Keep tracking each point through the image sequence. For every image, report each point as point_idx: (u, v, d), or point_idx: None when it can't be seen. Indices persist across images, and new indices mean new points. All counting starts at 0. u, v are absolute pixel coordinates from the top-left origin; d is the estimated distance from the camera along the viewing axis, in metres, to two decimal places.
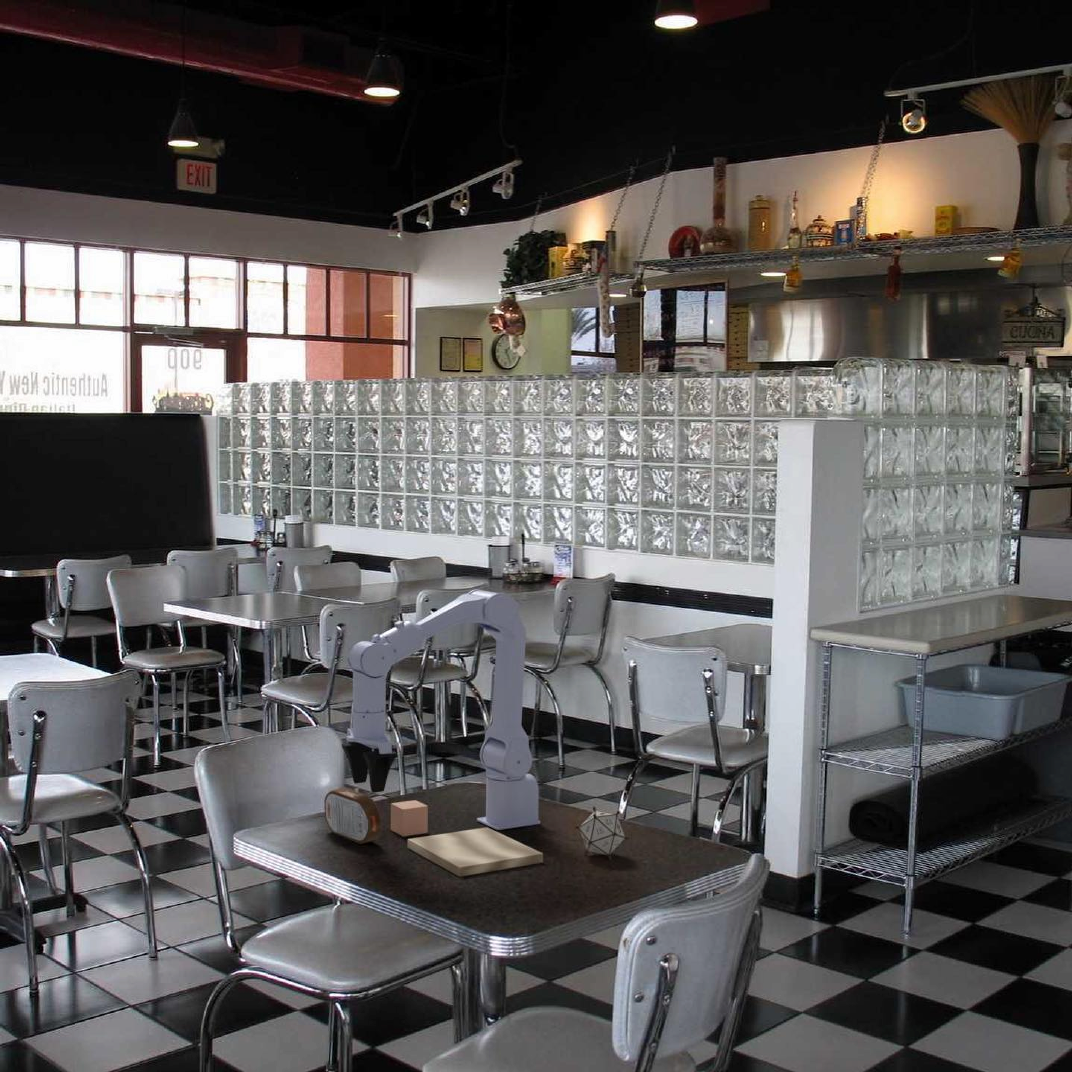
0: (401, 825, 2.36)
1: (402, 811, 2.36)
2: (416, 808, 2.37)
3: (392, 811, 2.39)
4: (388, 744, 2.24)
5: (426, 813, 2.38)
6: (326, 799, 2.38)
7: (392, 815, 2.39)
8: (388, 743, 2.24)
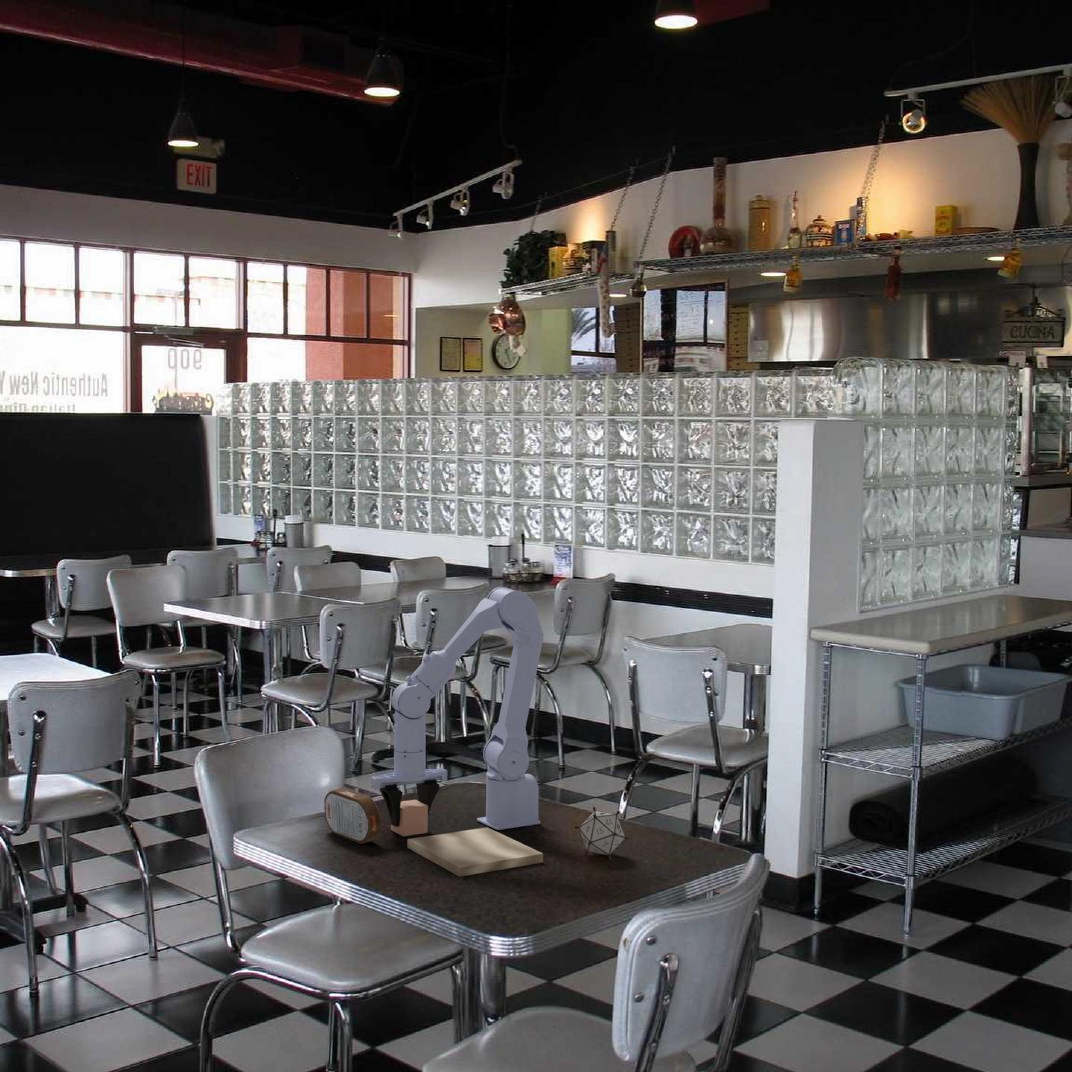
0: (401, 824, 2.36)
1: (402, 810, 2.36)
2: (416, 807, 2.37)
3: None
4: (374, 780, 2.35)
5: (426, 812, 2.38)
6: (326, 799, 2.38)
7: None
8: (374, 779, 2.35)
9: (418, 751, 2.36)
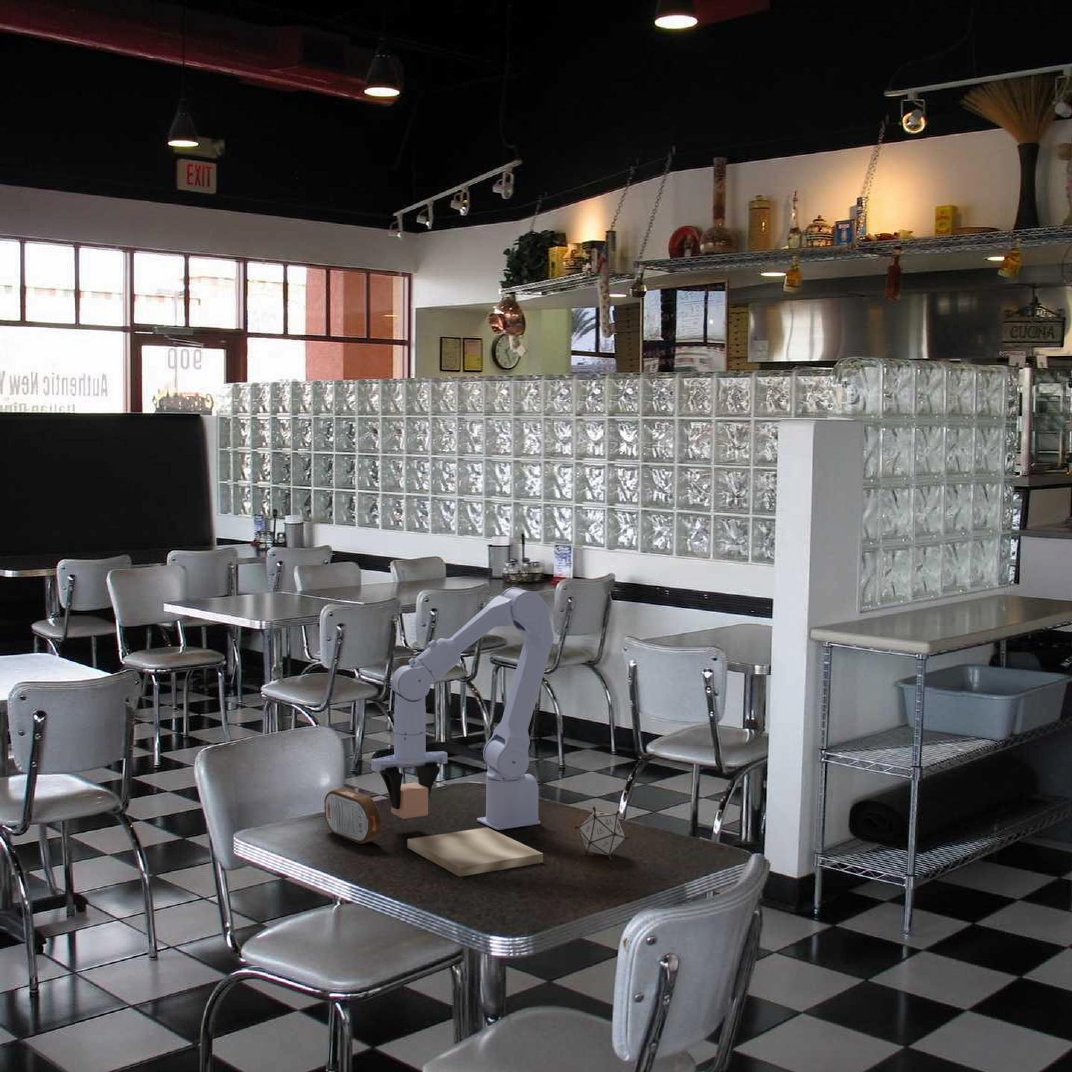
0: (401, 807, 2.36)
1: (403, 793, 2.35)
2: (416, 790, 2.37)
3: None
4: (374, 762, 2.34)
5: (426, 795, 2.38)
6: (326, 799, 2.38)
7: None
8: (374, 761, 2.34)
9: (418, 733, 2.36)
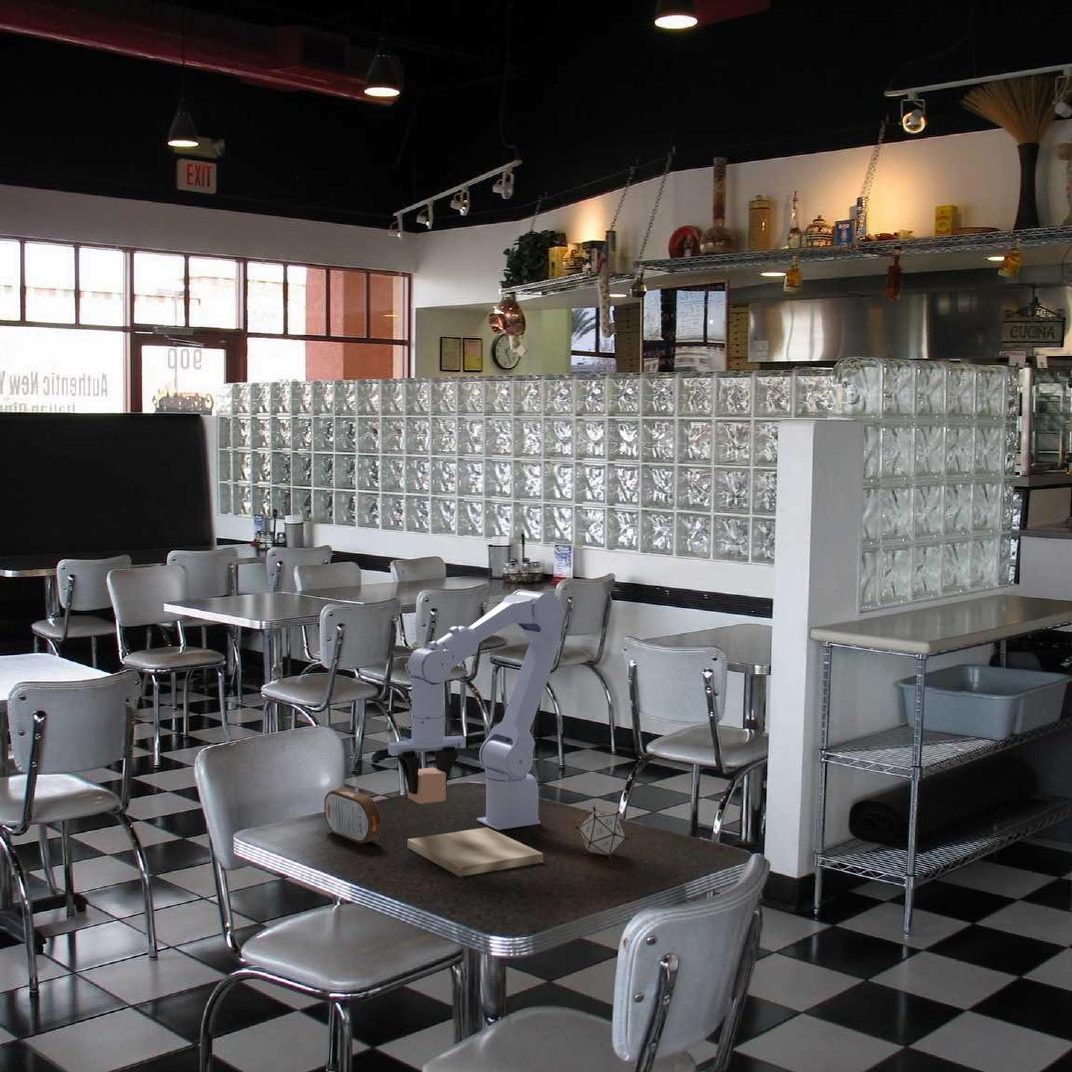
0: (418, 792, 2.32)
1: (420, 778, 2.31)
2: (434, 775, 2.33)
3: None
4: (391, 746, 2.30)
5: (444, 780, 2.34)
6: (326, 799, 2.38)
7: None
8: (391, 745, 2.30)
9: (436, 717, 2.32)
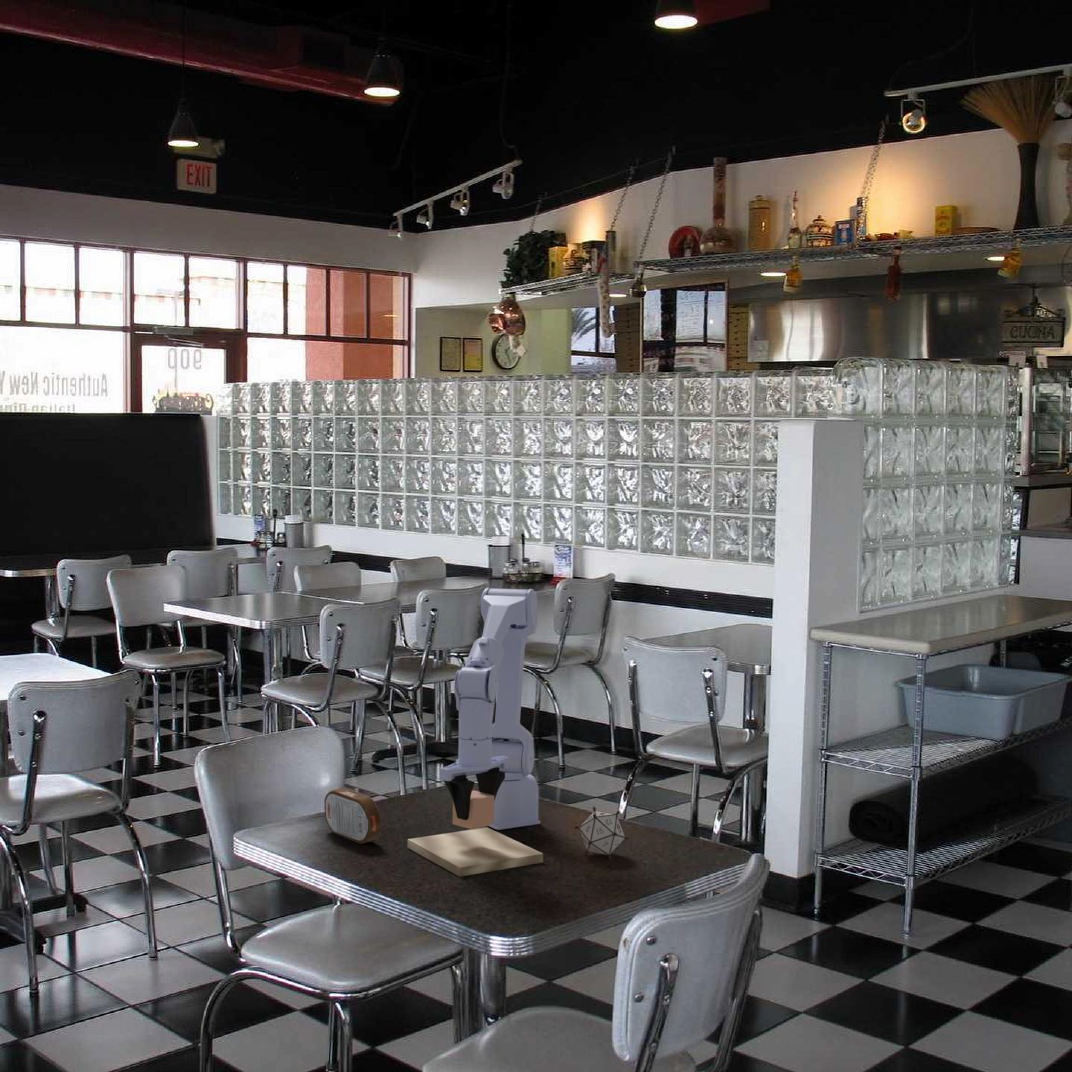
0: (470, 817, 2.21)
1: (472, 802, 2.21)
2: (484, 798, 2.23)
3: None
4: (445, 771, 2.18)
5: (493, 803, 2.24)
6: (326, 799, 2.38)
7: None
8: (445, 770, 2.18)
9: (488, 738, 2.22)
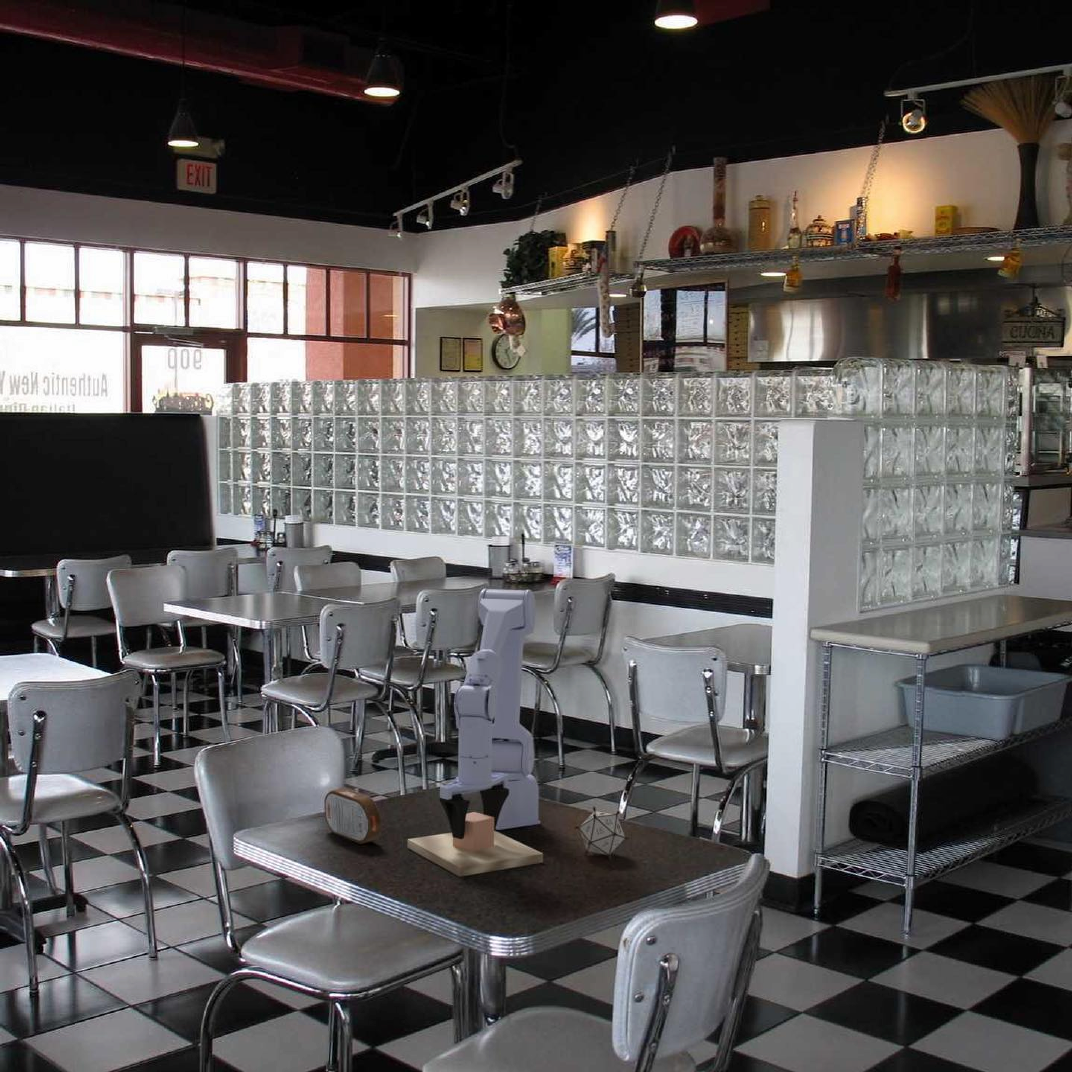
0: (470, 839, 2.22)
1: (473, 824, 2.21)
2: (484, 820, 2.23)
3: None
4: (445, 789, 2.19)
5: (493, 825, 2.24)
6: (326, 799, 2.38)
7: None
8: (445, 788, 2.19)
9: (488, 756, 2.22)
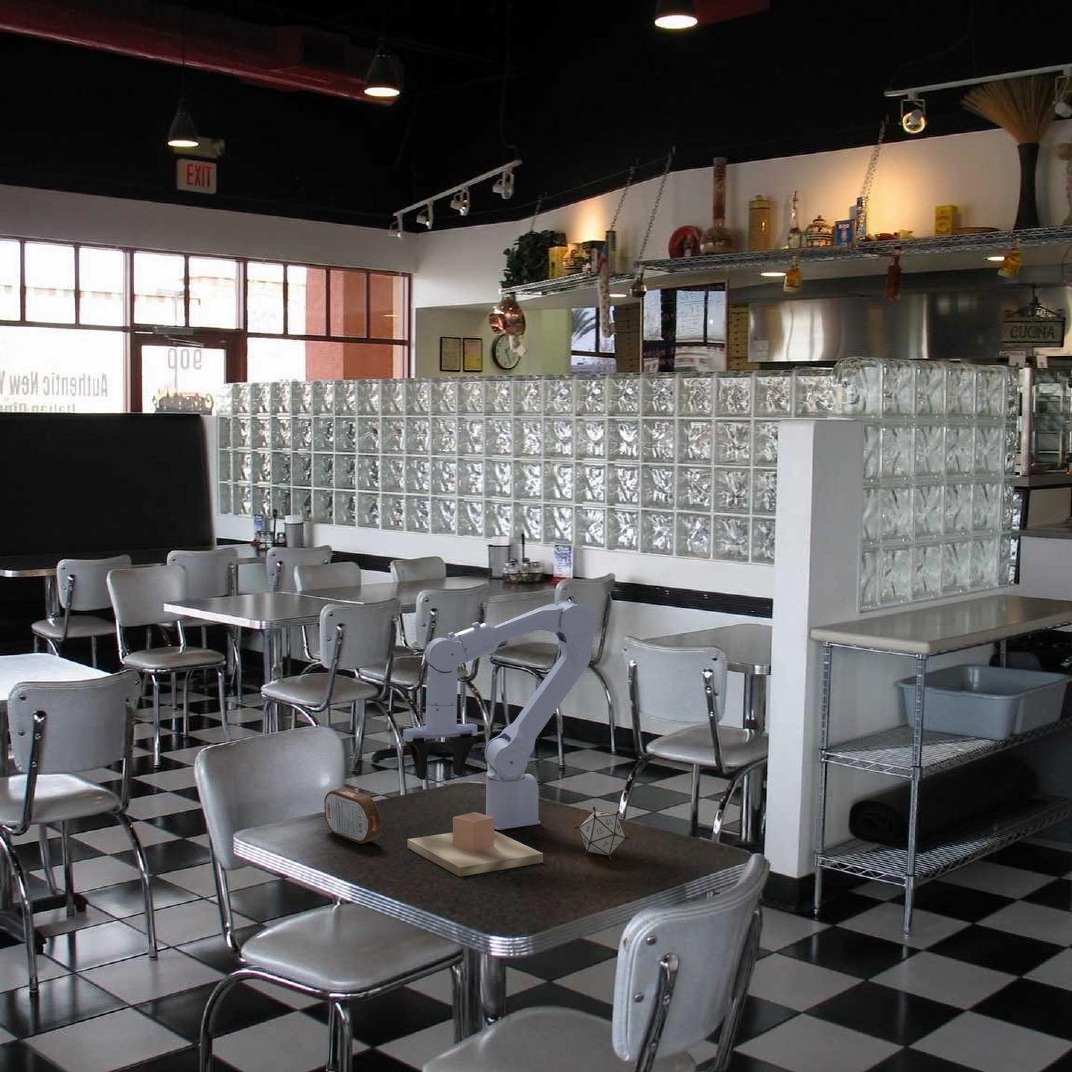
0: (470, 839, 2.22)
1: (473, 824, 2.21)
2: (484, 820, 2.23)
3: (455, 825, 2.24)
4: (406, 732, 2.37)
5: (493, 825, 2.24)
6: (326, 799, 2.38)
7: (455, 829, 2.24)
8: (406, 731, 2.37)
9: (450, 705, 2.39)
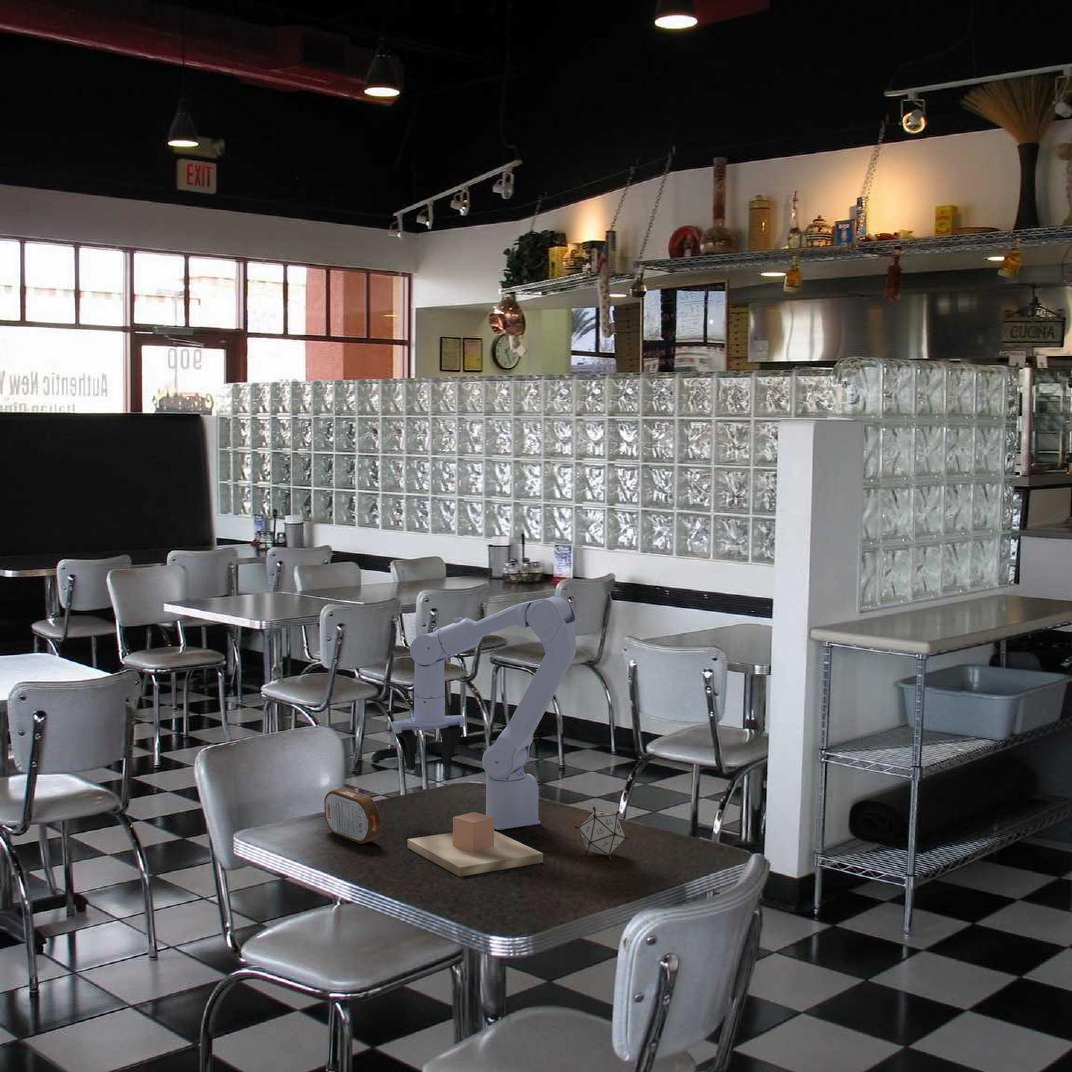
0: (470, 839, 2.22)
1: (473, 824, 2.21)
2: (484, 820, 2.23)
3: (455, 825, 2.24)
4: (395, 724, 2.45)
5: (493, 825, 2.24)
6: (326, 799, 2.38)
7: (455, 829, 2.24)
8: (395, 723, 2.45)
9: (437, 697, 2.47)
